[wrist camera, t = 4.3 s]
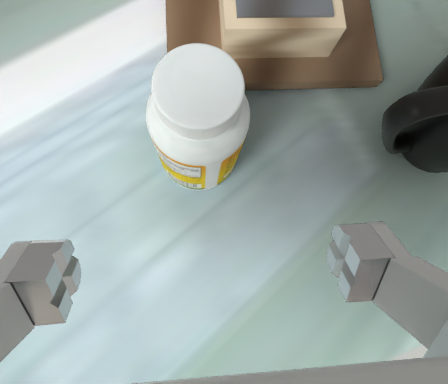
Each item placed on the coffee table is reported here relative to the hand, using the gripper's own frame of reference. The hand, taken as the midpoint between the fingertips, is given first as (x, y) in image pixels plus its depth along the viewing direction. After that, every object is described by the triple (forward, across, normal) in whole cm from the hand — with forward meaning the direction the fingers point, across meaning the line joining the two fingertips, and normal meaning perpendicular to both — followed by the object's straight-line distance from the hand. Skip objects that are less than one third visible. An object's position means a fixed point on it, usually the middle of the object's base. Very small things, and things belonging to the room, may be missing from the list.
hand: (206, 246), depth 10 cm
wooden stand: (+21, -6, -4) cm, 22 cm away
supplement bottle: (+13, 0, +4) cm, 14 cm away
